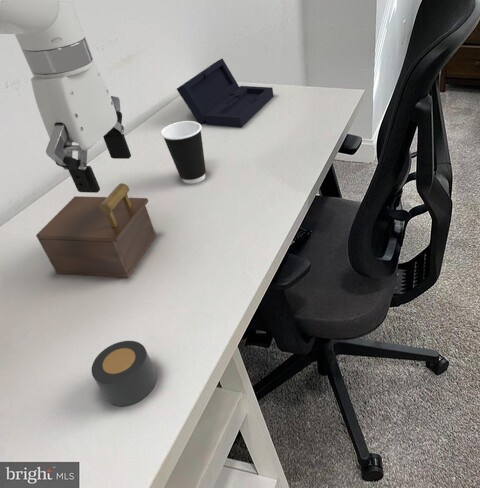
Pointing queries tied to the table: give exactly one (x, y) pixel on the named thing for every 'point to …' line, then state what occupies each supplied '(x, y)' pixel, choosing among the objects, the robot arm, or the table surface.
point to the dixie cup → (186, 149)
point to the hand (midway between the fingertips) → (106, 173)
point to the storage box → (222, 97)
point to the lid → (95, 217)
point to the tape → (124, 373)
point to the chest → (102, 251)
